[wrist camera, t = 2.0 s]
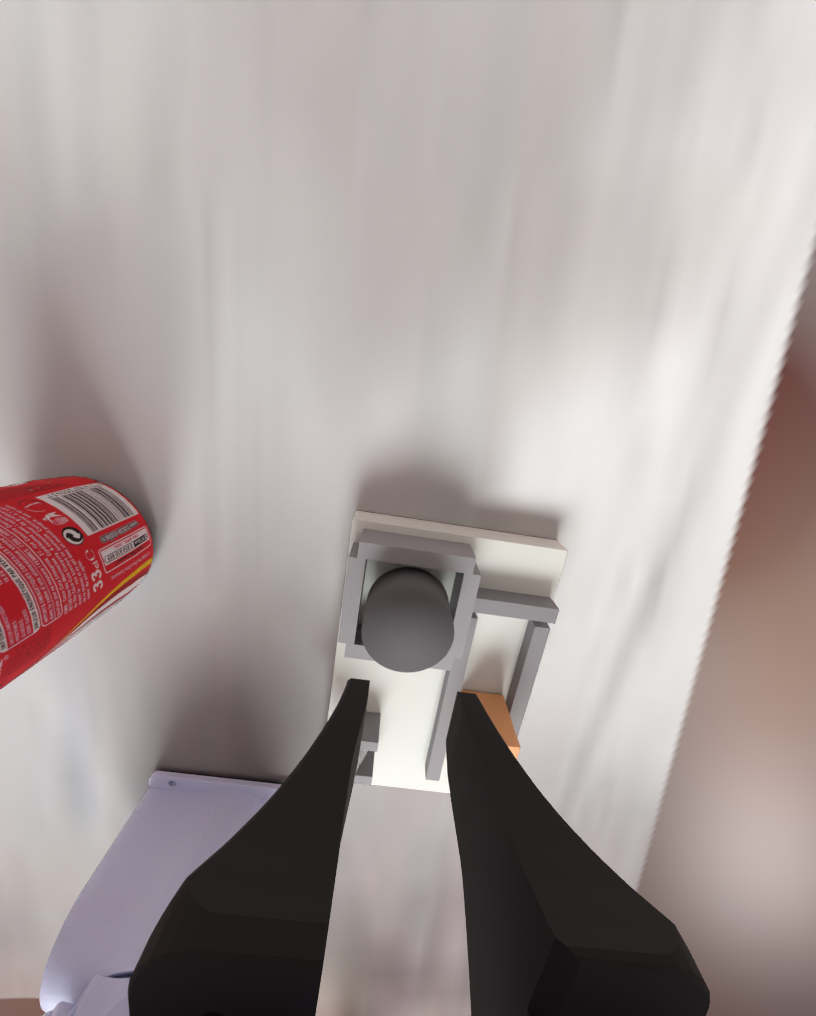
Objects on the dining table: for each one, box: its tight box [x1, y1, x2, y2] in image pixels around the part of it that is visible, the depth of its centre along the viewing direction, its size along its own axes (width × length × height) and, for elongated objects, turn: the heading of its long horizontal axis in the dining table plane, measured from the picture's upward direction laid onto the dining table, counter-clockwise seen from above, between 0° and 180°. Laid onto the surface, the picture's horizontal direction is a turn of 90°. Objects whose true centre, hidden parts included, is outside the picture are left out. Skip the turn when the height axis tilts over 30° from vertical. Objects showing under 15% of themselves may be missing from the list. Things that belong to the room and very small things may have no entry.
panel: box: [327, 510, 568, 793], centre depth 21 cm, size 11×17×4 cm, turn 171°
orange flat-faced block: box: [461, 690, 520, 759], centre depth 21 cm, size 2×3×3 cm
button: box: [361, 567, 454, 673], centre depth 18 cm, size 4×4×2 cm
